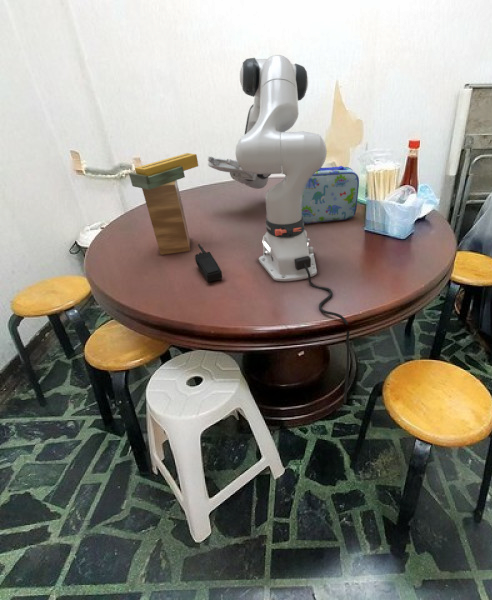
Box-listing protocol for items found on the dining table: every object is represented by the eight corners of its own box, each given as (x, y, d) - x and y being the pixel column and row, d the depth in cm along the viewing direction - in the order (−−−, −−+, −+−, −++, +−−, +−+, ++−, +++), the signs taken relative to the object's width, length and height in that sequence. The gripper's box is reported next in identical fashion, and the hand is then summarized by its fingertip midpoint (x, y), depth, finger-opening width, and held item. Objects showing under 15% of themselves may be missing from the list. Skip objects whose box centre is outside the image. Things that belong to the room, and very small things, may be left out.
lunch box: (350, 211, 153) (353, 161, 141) (358, 220, 144) (363, 167, 132) (292, 217, 149) (290, 165, 137) (296, 226, 140) (295, 173, 128)
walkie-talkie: (200, 280, 104) (182, 249, 117) (216, 288, 108) (197, 257, 121) (213, 264, 103) (192, 234, 116) (228, 273, 107) (207, 243, 120)
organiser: (177, 235, 136) (159, 161, 120) (204, 242, 130) (189, 166, 114) (146, 250, 125) (122, 172, 110) (173, 259, 119) (152, 177, 104)
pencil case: (189, 164, 125) (187, 152, 123) (198, 166, 124) (196, 154, 121) (138, 180, 110) (134, 167, 108) (148, 182, 108) (144, 169, 106)
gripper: (222, 160, 150) (200, 148, 138) (261, 165, 141) (240, 154, 129) (219, 175, 151) (197, 165, 139) (258, 181, 142) (237, 171, 130)
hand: (218, 159), depth 134 cm, fingers open, 8 cm apart
